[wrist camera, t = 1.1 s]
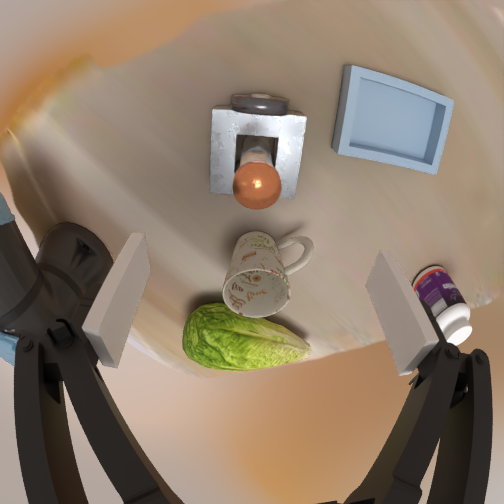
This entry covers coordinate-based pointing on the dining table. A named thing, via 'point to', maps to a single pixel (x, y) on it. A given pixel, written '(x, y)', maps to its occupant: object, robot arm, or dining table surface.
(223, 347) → the lettuce
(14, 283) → the robot arm
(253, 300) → the mug
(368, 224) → the dining table surface
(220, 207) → the dining table surface
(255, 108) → the block
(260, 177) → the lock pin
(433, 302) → the pill bottle
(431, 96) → the tray
